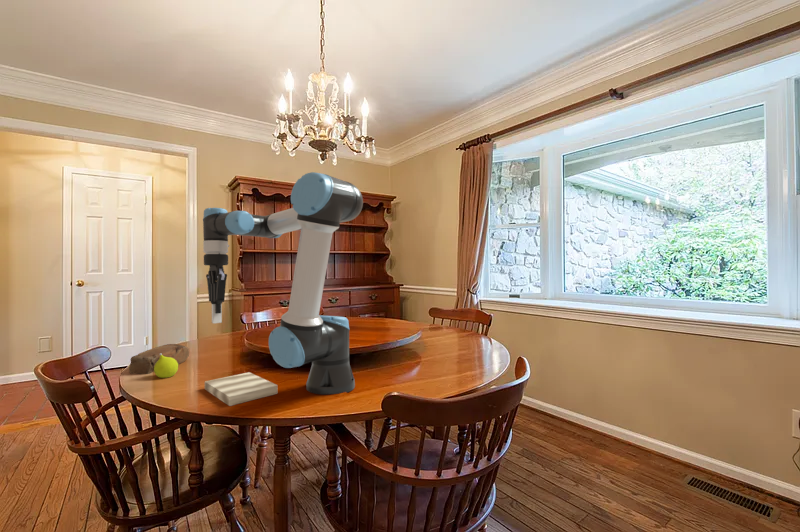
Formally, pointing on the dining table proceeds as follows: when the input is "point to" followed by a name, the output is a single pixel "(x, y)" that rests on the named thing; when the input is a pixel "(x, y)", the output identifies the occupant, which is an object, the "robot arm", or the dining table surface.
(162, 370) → the ornament
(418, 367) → the dining table surface
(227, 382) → the board
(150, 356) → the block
